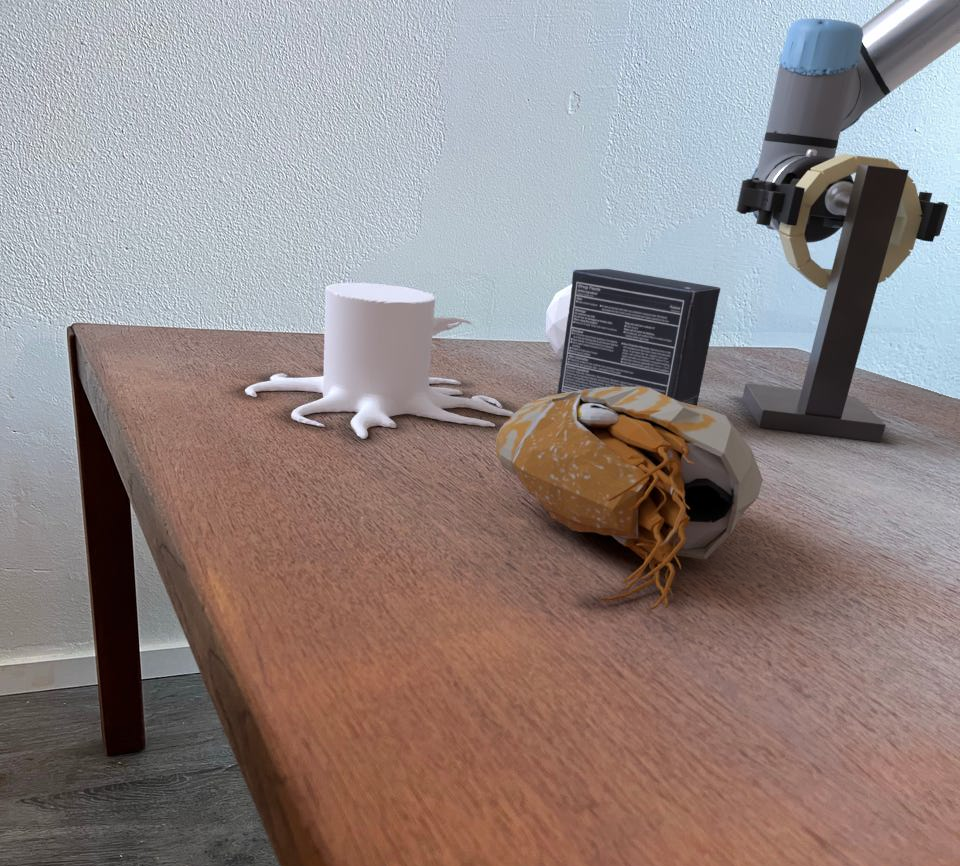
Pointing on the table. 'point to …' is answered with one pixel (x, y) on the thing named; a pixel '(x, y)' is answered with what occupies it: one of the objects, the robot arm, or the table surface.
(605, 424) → the nautilus
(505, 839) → the table surface
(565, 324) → the geometric ball
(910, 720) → the table surface
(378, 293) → the tree stump
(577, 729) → the table surface
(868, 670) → the table surface
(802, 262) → the tape roll
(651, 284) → the small box
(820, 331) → the tape stand
